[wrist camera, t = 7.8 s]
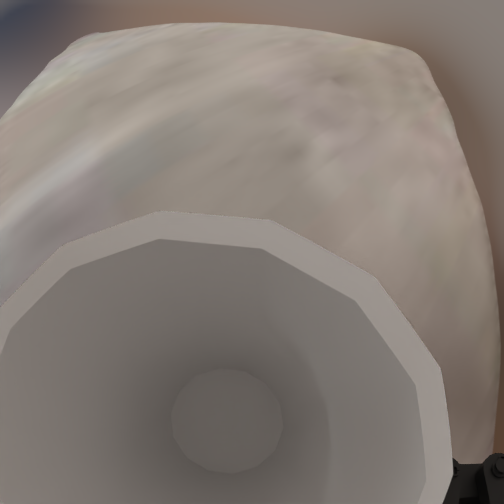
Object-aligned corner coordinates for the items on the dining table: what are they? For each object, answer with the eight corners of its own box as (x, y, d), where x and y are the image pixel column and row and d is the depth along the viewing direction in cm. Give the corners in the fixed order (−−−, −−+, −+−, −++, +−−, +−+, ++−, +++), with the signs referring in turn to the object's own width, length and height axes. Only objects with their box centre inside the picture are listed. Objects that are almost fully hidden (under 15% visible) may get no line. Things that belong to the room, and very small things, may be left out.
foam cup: (278, 317, 18) (333, 162, 6) (336, 462, 14) (488, 541, 3) (123, 366, 17) (-49, 292, 5) (175, 512, 13) (73, 641, 1)
